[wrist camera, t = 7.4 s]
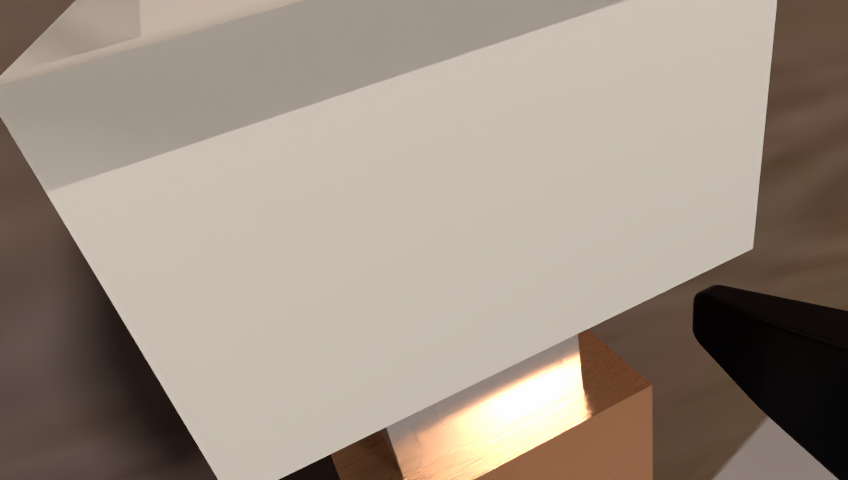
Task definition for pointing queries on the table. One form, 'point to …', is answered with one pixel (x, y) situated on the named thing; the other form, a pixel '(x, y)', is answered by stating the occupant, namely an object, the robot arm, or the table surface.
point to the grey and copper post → (523, 425)
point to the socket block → (384, 189)
